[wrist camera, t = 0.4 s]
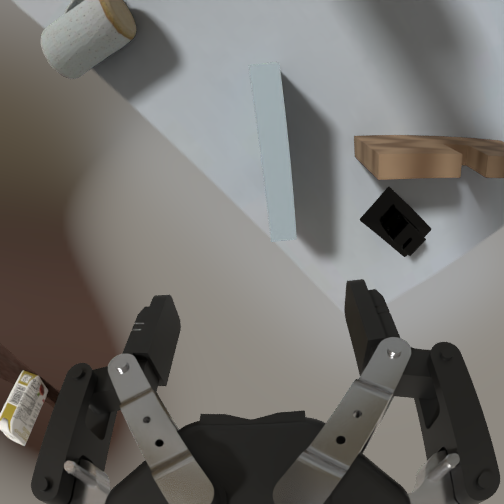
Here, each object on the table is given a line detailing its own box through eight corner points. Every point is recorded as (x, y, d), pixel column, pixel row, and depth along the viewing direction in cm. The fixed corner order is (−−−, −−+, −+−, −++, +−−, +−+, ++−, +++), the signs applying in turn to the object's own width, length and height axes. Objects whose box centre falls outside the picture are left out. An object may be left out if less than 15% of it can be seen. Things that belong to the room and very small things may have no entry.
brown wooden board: (354, 156, 33) (378, 179, 26) (354, 135, 31) (378, 154, 25) (499, 157, 31) (536, 179, 24) (500, 140, 29) (538, 159, 23)
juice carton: (40, 374, 60) (12, 433, 44) (51, 392, 65) (28, 449, 49) (19, 367, 60) (-9, 422, 44) (31, 385, 65) (7, 438, 49)
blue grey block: (251, 68, 28) (248, 65, 21) (274, 65, 28) (279, 61, 21) (269, 207, 36) (271, 241, 30) (290, 205, 36) (296, 239, 29)
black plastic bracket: (345, 215, 37) (355, 233, 33) (384, 171, 34) (399, 185, 30) (405, 264, 41) (417, 284, 37) (440, 228, 37) (455, 245, 33)
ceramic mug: (149, 40, 26) (119, 33, 20) (90, 78, 28) (52, 83, 22) (116, -26, 21) (83, -43, 15) (61, 14, 23) (22, 9, 17)
